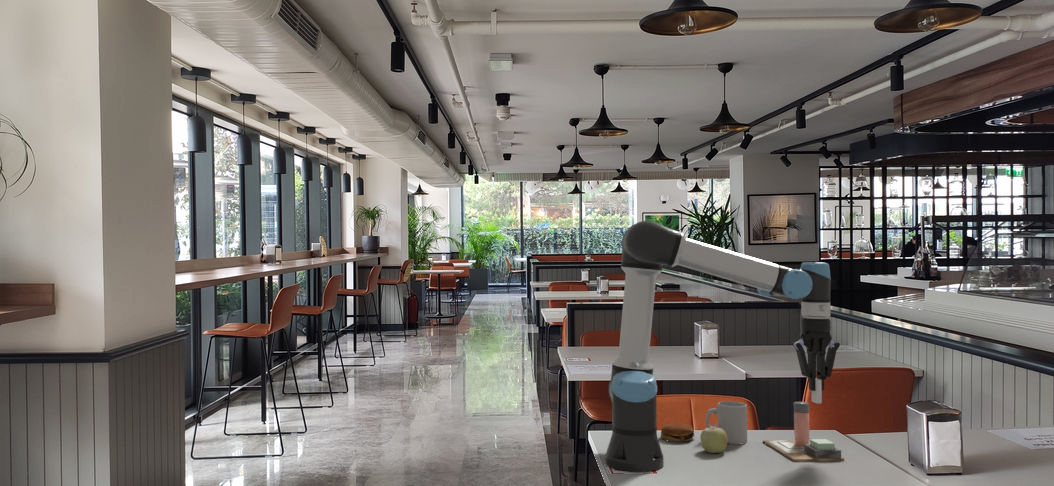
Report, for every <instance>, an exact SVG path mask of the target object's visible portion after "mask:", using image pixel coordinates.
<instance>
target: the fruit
mask: <svg viewBox="0 0 1054 486" xmlns="http://www.w3.org/2000/svg"><path fill="white" fill-rule="evenodd" d="M712 426H713V427H709V428H707V427H706V428H704V429H703V430H702V431H701V433H700V443H701V446H702V448H703V449H704V450H705V451H706V452H707V453H709V454H716V453H717V454H718V453H721V452H724V451H725V449H726V448H727V446H728V444H727V441H728V439H727V434H726V432H725V431H724V430H723V429H721V428H717V427H714V426H716V423H714V424H712Z"/></svg>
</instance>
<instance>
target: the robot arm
mask: <svg viewBox="0 0 1054 486" xmlns="http://www.w3.org/2000/svg"><path fill="white" fill-rule="evenodd" d="M621 247H622V248H621V249H622V251H621V252H622V253H621V264H620V265H621V266H620V268H621V270H622V271H623V272H624V274H625V278H624V291H623V301H622V313H621V325H620V333H619V334H620V335H619V344H618V345H619V347H618V348H619V349H618V356H617V357H616V359H615V360H613V361H612V364H611V373H610V374H611V375H610V379H609V383H608V395H609V398H610V400H611V407H612V408H611V411H612V412H611V413H612V414H611V416H612V417H611V418H612V420H611V421H612V425H611V426H612V427H611V429H612V432H611V437H610V439H609V443H608V446H607V449H606V453H605V464H606V466H608V467H610V468H613V469H616V470H621V471H626V472H651V471H656V470H659V469H661V468H663V467H664V463H665V462H664V454H663V450H662V448H661V444H660V442H659V438H658V433H657V432H658V431H657V429H658V428H657V426H658V425H657V423H658V421H657V417H658V416H657V413H658V411H657V410H658V408H657V405H658V404H657V401H658V400H657V395H658V394H657V392H658V385H657V380H656V378H655V376H654V366H653V365H652V363H650V361H649V360H650V350H651V349H650V348H651V338H652V337H651V336H652V327H653V317H654V316H653V314H654V306H655V305H654V302H655V294H656V292H655V291H656V284H657V283H656V281H657V276H658V275H659V274H661V273H662V272H663V266H667V267H670V268H674V267H676V266H681V267H684V268H687V269H691V270H694V271H698V272H701V273H703V274H708V275H711V276H715V277H718V278H720V279H726V280H728V281H731V282H735V283H739V284H741V285H746V286H749V287H752V288H756V290H757V293H758V294H759V295H760V296H766V297H783V298H789V299H792V300H799V299H801V303H800V304H801V316H803V317H802V318H801V336H800V339H799V340H798V341H793V342H792V346H793V348H794V349H795V352H796V355H797V361H798V364H799V369H800V372H801V375H802V376H803V377H805V378H808V389H809V391H811V402H812V403H815V404H822V403H823V400H822V399H823V397H822V396H823V395H822V392H823V391H825V380H827V378H828V377H829V378H830V377H831V376H832V372H833V368H834V363H835V358H836V356H837V355H836V354H837V351H838V349H839V348H840V342H839V341H838V342H837V341H835V340H833V337H832V335H831V330H832V329H831V328H832V326H831V322H832V321H831V318H829V317H831V280H832V278H831V270H830V264H829V263H827V262H821V261H820V262H817V261H816V262H813V261H812V262H811V261H810V262H809V261H808V262H806V261H805V262H801V265H800V268H794V269H793V268H792V267H791V268H790V267H787V266H784V265H780V264H777V263H773V262H771V261H767V260H764V259H760V258H756V257H753V256H750V255H746V254H742V253H739V252H736V251H733V250H730V249H726V248H723V247H719V246H715V245H712V244H708V243H705V242H701V241H699V240H695V239H692V238H688V237H686V236H685V234H684V232H682V231H678V230H676V229H675V230H674V229H671V228H669V227H666V226H664V225H662V224H660V223H658V222H656V221H653V220H643V221H638V222H635V223H634V224H632V225H630V226H629V227H628V228H627V229H626V230H625V232H624V234H623V236H622V239H621ZM804 347H805V348H806V352H805V349H804ZM827 347H828V348H827ZM826 350H827V351H826ZM806 353H807V357H806Z"/></svg>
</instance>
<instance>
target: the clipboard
mask: <svg viewBox="0 0 1054 486" xmlns="http://www.w3.org/2000/svg"><path fill="white" fill-rule="evenodd" d="M763 442H765V443H766V444H767V445H766V444H765V443H764V444H765V445H766V446H768V445H769V446H770V448H771V447H772V448H771V449H773V448H774V449H775V450H774V449H773V450H774V451H776V450H777V451H778V453H779V452H780V453H779V454H781V455H783V456H784V457H786V458H787V459H789V460H791V461H792V462H796V463H797V462H834V461H835V462H836V461H837V460H844V461H845V458H844V457H843V456H842V450H841V449H839V448H837V447H836V446H835V450H817V449H815V448H813V447H811V446H810V444H804V447H800V446H796V445H795V439H780V440H779V439H775V440H770V439H769V440H768V439H767V440H762V443H763ZM769 446H768V447H769ZM777 451H776V452H777ZM837 462H838V461H837Z"/></svg>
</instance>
